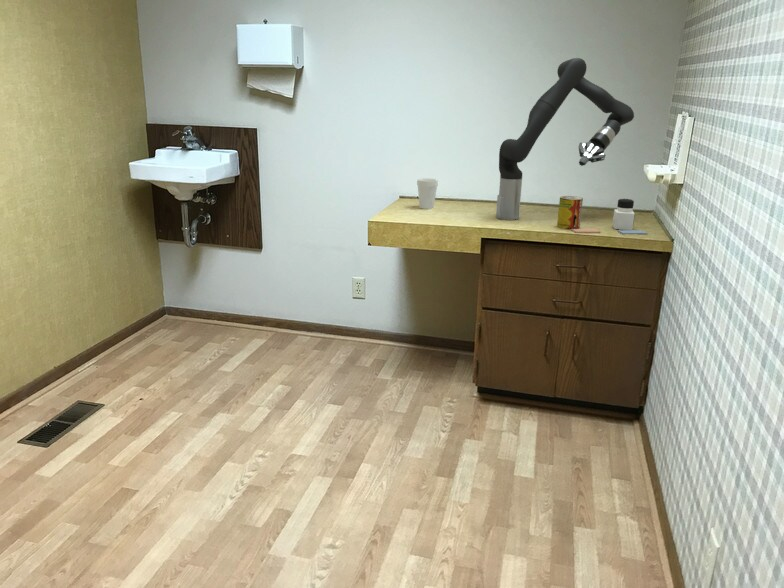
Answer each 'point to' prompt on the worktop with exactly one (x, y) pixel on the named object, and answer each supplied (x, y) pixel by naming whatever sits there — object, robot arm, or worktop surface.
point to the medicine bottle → (624, 215)
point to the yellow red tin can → (569, 212)
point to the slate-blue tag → (632, 232)
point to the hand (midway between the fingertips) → (581, 163)
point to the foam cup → (427, 192)
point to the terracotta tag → (585, 230)
